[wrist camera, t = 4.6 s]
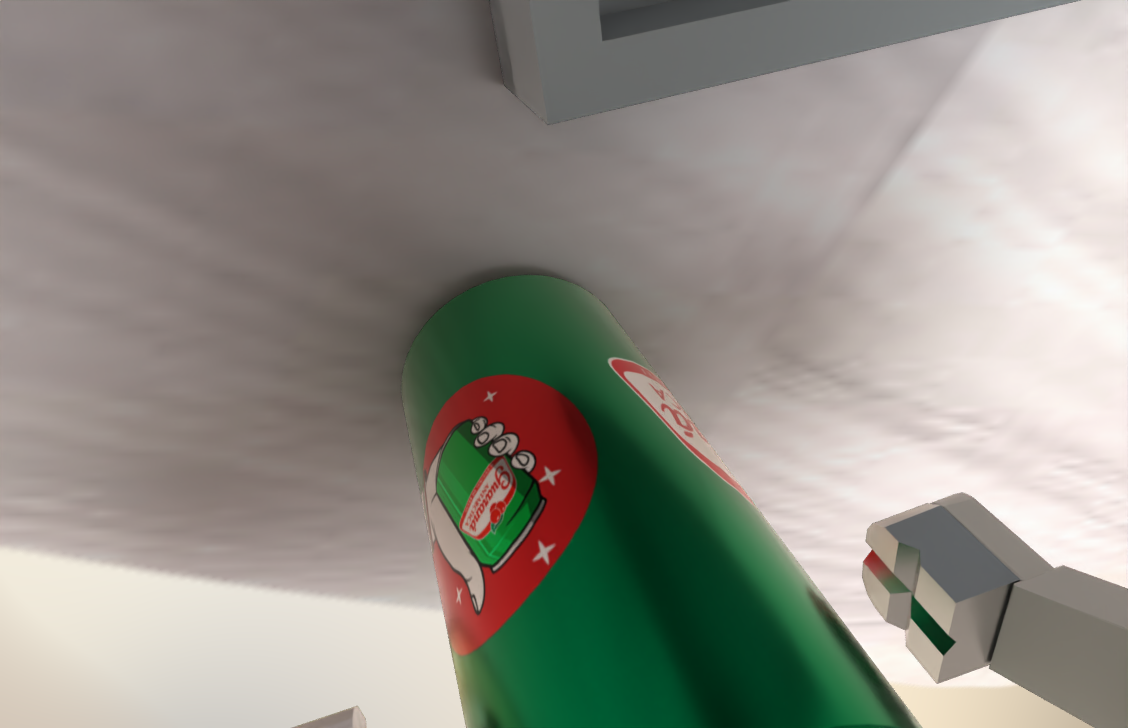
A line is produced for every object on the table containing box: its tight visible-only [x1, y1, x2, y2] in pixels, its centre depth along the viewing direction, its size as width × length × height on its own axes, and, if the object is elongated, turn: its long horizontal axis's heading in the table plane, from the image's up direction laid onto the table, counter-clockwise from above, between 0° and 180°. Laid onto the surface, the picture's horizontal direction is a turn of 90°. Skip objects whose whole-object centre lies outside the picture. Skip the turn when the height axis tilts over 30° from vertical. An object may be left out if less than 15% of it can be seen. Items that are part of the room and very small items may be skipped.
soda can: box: [401, 275, 922, 728], centre depth 12 cm, size 5×5×12 cm
